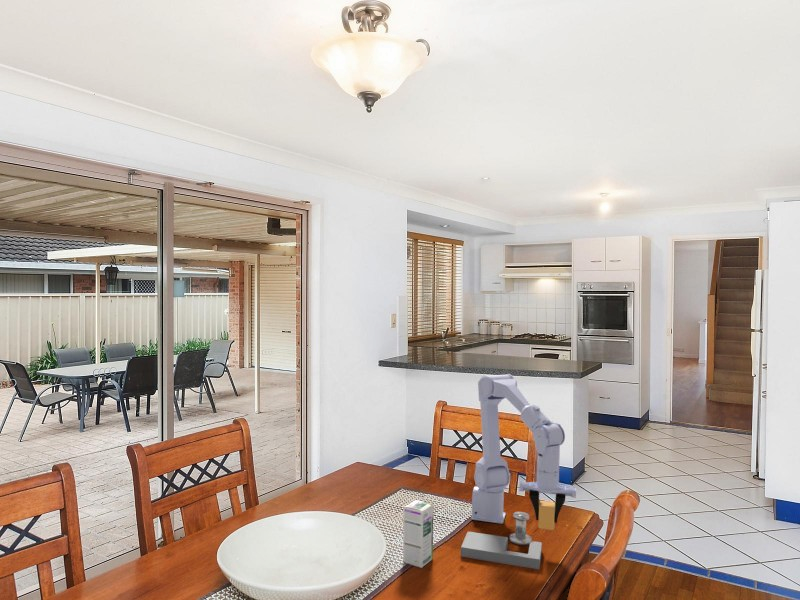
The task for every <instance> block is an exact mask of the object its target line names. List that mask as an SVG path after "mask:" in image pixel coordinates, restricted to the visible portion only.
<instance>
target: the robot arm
mask: <svg viewBox="0 0 800 600" xmlns="http://www.w3.org/2000/svg"><path fill="white" fill-rule="evenodd" d="M477 388H478V391H477V392H478V401H479V402H480V419H481V420H480V421H481V422H480V423H481V425H480V426H481V441H482V457H481V458H479V460H478V461H477V462H475V470H474V476H473V480H474V482H475V486H474V487H473V490H472V494H471V495H472V496H471V499H472V500H471V520H473V521H481V522H488V523H495V524H501V525H502V524H504V520H505V518H506V512H504V495H505V493H504V492H505V490H506V489H507V486H508V485H509V483H510V482H511V472H510V470H509V467H508V462H507V460H505V459H504V458H503V457H502V456H501V440H500V439H501V438H500V422H499V405H500V403H501V402H502V400H505V399H506V400H507V401H509V403H510V404H511V405H512V406H513V407H514V408H515V409H517V410H518V411H519V413H520V419H521V421H522V422H523V423H524V425H526V427H527V428H528V429H529V430H530V432H531V433H532V440H533V442H534V444H535V451H536V453H537V454H536V456H537V460H536V481H530V482H529V481H520V482H519V486H518V487H519V488H518V489H519V492H529V493H528V497H529V500H530V502H531V504H532V506H533V509H534V514H535V520H536V521H538V522H539V502H540V494H548V495H555V501H554V502H555V517H554V523H555V524H557V523H558V518H559V515H560V512H561V510H562V507H563V505H564V504H565V502H566V497H570V498H573V499H575V498H577V488H576V487H571V486H565V485H562V484H560V483H559V482H560V454H561V453H560V452H561V451H560V450H561V449H560V447H561V445H563V444H564V442H565V439H566V433H565V431H564V428H563V427H562V425H561V424H560V423H558V422H553V421H551V420H550V419H549V418H548V417H547V416H546V414H544V412H543V411H542V410H541V408H540V407H539V406H538V405H535V404H530V403H529V401H528V399H527V398H526V397H525V396H524V394H523V393H522V392H521V391H520V389H519V387H518V381H517V380H516V379H515V377H514V376H513V375H512V374H510V373H506V374H495V375H494V374H493V375H488V374H487V375H486V374H485V375H483V376H481V377H480V379H479V380H478V382H477Z"/></svg>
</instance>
